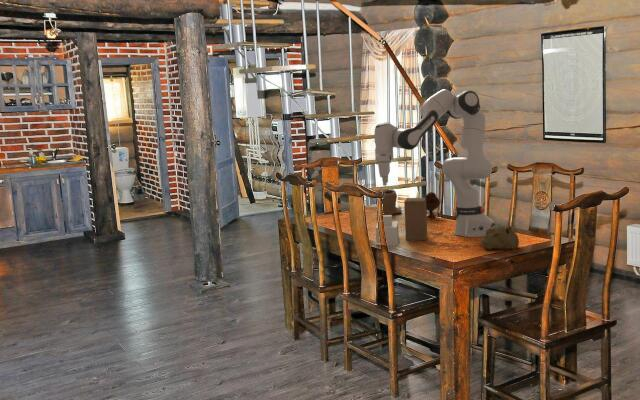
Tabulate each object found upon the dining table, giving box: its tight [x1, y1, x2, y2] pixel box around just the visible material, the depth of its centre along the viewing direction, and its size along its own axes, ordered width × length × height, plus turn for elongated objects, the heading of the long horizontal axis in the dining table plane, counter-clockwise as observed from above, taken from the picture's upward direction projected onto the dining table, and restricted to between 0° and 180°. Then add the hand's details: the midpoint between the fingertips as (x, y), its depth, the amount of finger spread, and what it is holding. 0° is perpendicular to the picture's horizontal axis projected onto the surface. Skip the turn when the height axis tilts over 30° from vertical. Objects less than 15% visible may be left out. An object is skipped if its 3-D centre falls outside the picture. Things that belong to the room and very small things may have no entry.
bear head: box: [480, 222, 520, 252], centre depth 320 cm, size 14×18×12 cm
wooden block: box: [403, 197, 428, 241], centre depth 349 cm, size 10×10×20 cm
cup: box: [375, 214, 400, 246], centre depth 346 cm, size 15×10×13 cm
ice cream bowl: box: [422, 191, 441, 219], centre depth 400 cm, size 11×11×15 cm
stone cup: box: [382, 189, 402, 216], centre depth 417 cm, size 15×12×15 cm
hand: (385, 184), depth 343 cm, fingers open, 8 cm apart
